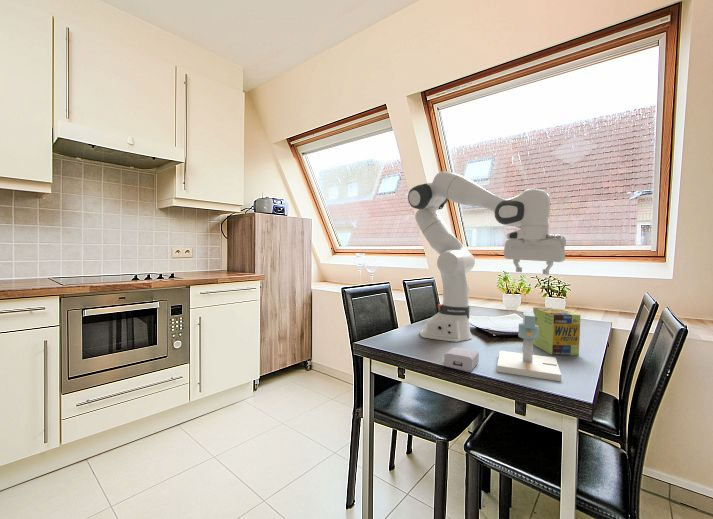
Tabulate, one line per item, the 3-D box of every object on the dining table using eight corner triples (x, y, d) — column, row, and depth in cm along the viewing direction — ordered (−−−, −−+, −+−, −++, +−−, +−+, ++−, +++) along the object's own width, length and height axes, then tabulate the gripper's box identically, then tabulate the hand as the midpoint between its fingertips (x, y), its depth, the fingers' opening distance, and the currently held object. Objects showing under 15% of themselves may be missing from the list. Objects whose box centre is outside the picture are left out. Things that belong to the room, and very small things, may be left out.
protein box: (552, 355, 130) (553, 314, 129) (531, 343, 145) (532, 307, 145) (579, 355, 130) (581, 314, 129) (556, 344, 145) (557, 307, 145)
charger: (482, 359, 124) (471, 372, 112) (457, 355, 129) (444, 366, 117) (482, 346, 124) (472, 357, 112) (457, 342, 129) (444, 352, 117)
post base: (497, 371, 112) (497, 341, 112) (499, 355, 128) (500, 329, 128) (561, 381, 104) (562, 348, 104) (555, 363, 121) (556, 335, 120)
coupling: (517, 332, 122) (518, 310, 121) (536, 334, 119) (537, 311, 119) (518, 339, 112) (519, 315, 112) (539, 341, 110) (540, 317, 110)
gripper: (569, 235, 117) (567, 275, 118) (511, 234, 133) (509, 270, 134) (562, 234, 113) (559, 276, 114) (502, 234, 129) (500, 271, 130)
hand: (531, 273), depth 124 cm, fingers open, 8 cm apart
